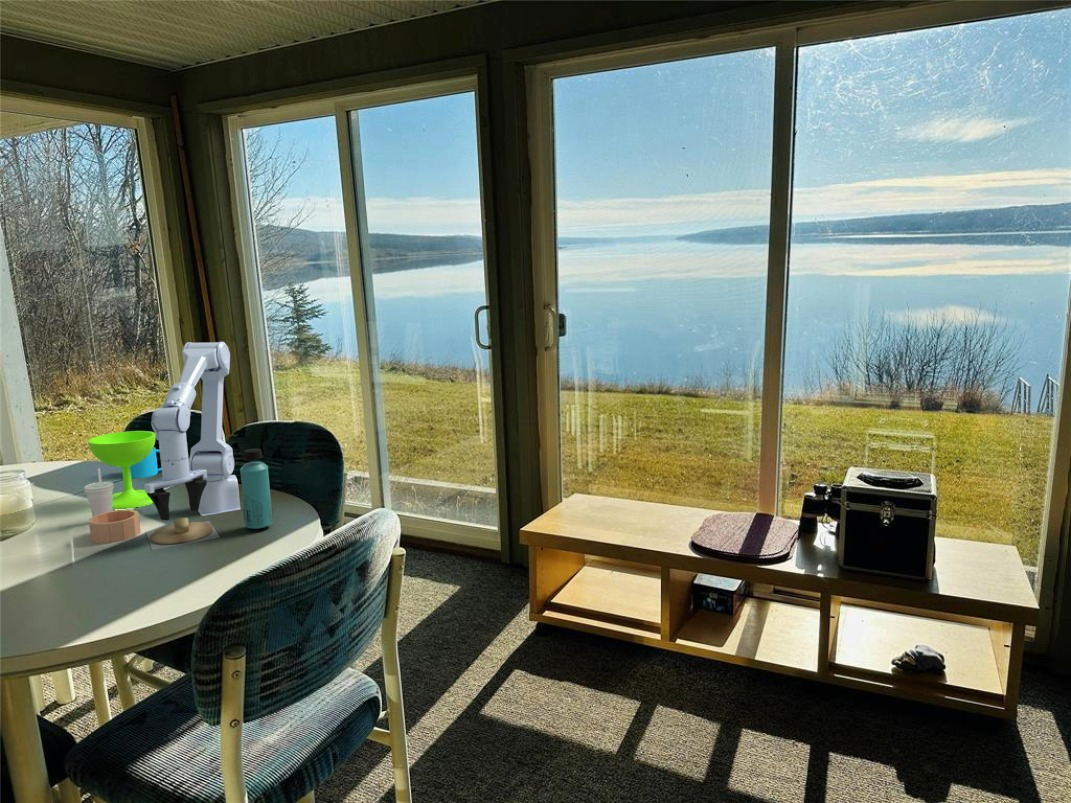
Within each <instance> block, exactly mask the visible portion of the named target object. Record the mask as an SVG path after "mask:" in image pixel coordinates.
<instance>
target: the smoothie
mask: <svg viewBox="0 0 1071 803" xmlns="http://www.w3.org/2000/svg"><path fill="white" fill-rule="evenodd" d="M96 470H97V476H98V482H93V483H89V484H86V485H85V486H84V487H83V490H84V491H83V492H84V493H85V494H86V498H87V501H88V504H89V508H90V512H91V516H92V517H94V516H95V515H99V514H102V513H105V512H110V511H112V495H113V494H114V490H113V489H114V488H115V485H114V482H112V481H102V474H101V473H102V472H101V468H100V467H98V468H97V469H96Z"/></svg>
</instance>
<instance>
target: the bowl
mask: <svg viewBox="0 0 1071 803" xmlns="http://www.w3.org/2000/svg"><path fill="white" fill-rule="evenodd" d="M88 523H89V532H90V540H91V542H93V543H96V544H113V543H117V542H123V541H127V540H129V539H133V538H135V537H137V536H138V535H139V534H141V532H142V530H141V525H140V524H141V523H140V514H139V511H138V510H134V509H127V510H117V511H110V512H105V513H102V514H99V515H95V516H94V517H93V516H92V517H90V518H88Z"/></svg>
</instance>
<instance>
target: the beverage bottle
mask: <svg viewBox="0 0 1071 803" xmlns="http://www.w3.org/2000/svg"><path fill="white" fill-rule="evenodd" d="M262 458H263V452H262V450H261V448H248V449H245V450H243V460H244V461H249V462H247V463H244V464H243V465H242V466H241V467H240V469H239V471H240V480H241V481H240V482H241V493H242V506H243V508H242V510H243V520H244V524H245V527H246V528H248V529H262V528H266V527H267V528H268V526H271V525H272V524H273V521H274V518H273V517H274V516H273V515H274V514H273V512H274V511H273V503H272V495H271V489H270V488H271V487H270V479H269V478H270V477H269V475H270V474H269V466H268V465H267V464H266V463H265V462H262V461H258V460H261V459H262ZM256 460H257V461H256Z"/></svg>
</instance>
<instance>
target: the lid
mask: <svg viewBox="0 0 1071 803" xmlns="http://www.w3.org/2000/svg"><path fill="white" fill-rule="evenodd" d="M202 522H203V521H190V522H189V517H187V516H181V517H176V518H175V519H173V524H171V525H168V526H164V527H161V528H159V529H156V530H157V531H155V530H154V531H155V532H154V533H153V534H152V535H151V541H152V542H153V543H156V544H161V545H176V544H183V543H189V542H193V541H196V540H200V539H202V538H205V537H207V536H208V535H210V534H211V533H212V531H213V529H212V526H213V525H212V526H211V525H210V524H208V523H202ZM189 544H190V543H189Z"/></svg>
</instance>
